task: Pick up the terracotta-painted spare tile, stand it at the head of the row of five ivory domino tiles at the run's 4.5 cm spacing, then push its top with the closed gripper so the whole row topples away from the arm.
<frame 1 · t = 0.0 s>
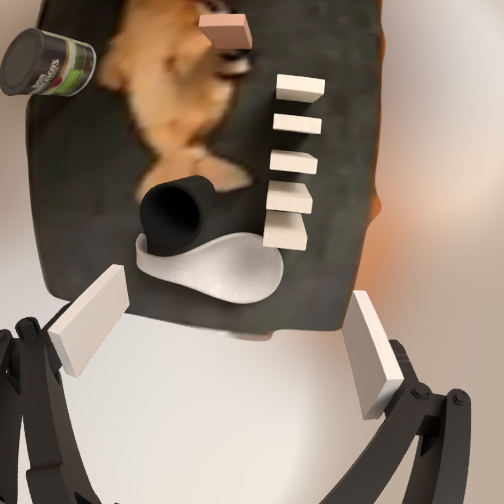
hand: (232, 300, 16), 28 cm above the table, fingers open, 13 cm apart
tile 5: (283, 217, 42), on the table
coffee can: (74, 68, 34), on the table
tile 4: (286, 187, 41), on the table
spoon rest: (209, 254, 46), on the table
cup: (197, 193, 42), on the table
tile 2: (292, 125, 37), on the table
tile 3: (289, 156, 39), on the table
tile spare: (234, 44, 33), on the table
tile 1: (294, 95, 35), on the table
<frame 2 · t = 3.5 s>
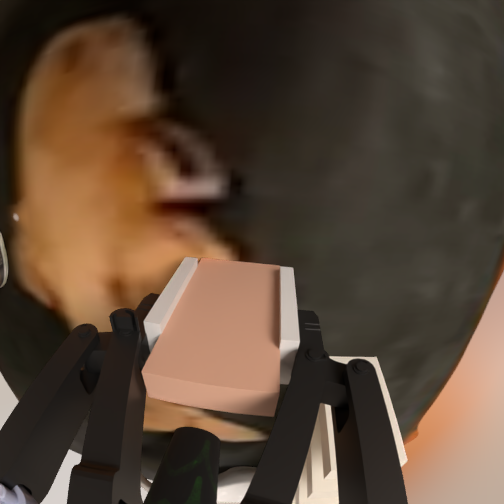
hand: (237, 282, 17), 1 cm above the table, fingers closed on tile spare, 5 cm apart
spoon rest: (211, 465, 32), on the table
cup: (197, 437, 28), on the table
tile 2: (332, 396, 23), on the table
tile 3: (320, 422, 25), on the table
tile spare: (239, 272, 19), on the table, touching gripper
tile 1: (346, 363, 21), on the table
when the fingers open (2 cm above the table, at t = 7.8 s): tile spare stays where it is, on the table.
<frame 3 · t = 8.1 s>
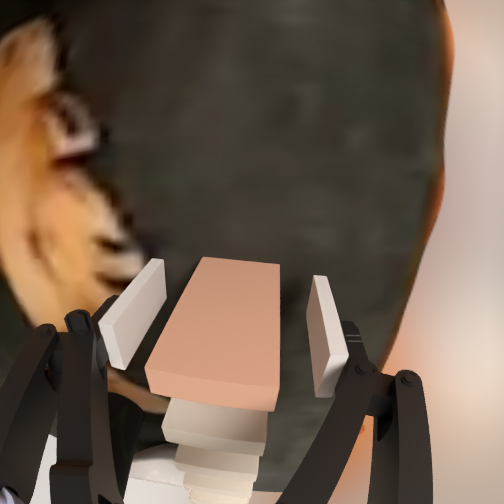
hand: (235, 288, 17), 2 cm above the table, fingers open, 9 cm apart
tile 4: (232, 421, 26), on the table
spoon rest: (143, 440, 32), on the table
cup: (123, 406, 28), on the table
tile 2: (234, 366, 23), on the table
tile 3: (233, 397, 24), on the table
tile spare: (240, 271, 19), on the table
tile 1: (237, 324, 21), on the table
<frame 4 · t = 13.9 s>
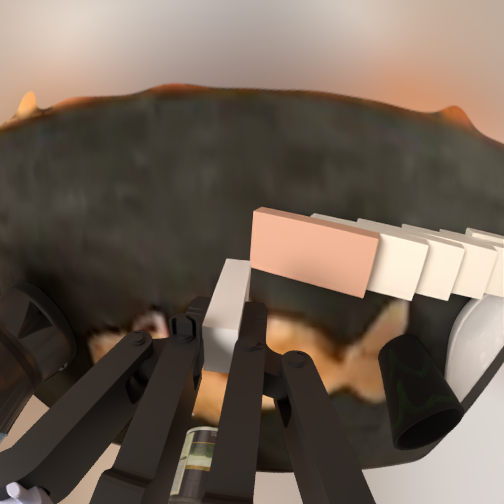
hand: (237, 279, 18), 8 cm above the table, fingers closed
tile 5: (463, 252, 24), point 1 cm above the table, tilted 81°, touching tile 4
coffee can: (215, 439, 41), on the table
tile 4: (435, 255, 24), point 1 cm above the table, tilted 68°, touching tile 5
spoon rest: (447, 350, 30), on the table
cup: (398, 351, 30), on the table
tile 2: (352, 247, 24), point 1 cm above the table, tilted 68°, touching tile 1, tile 3
tile 3: (397, 251, 24), point 1 cm above the table, tilted 68°, touching tile 2
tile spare: (255, 237, 25), point 1 cm above the table, tilted 68°, touching tile 1
tile 1: (307, 243, 25), point 1 cm above the table, tilted 68°, touching tile 2, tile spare
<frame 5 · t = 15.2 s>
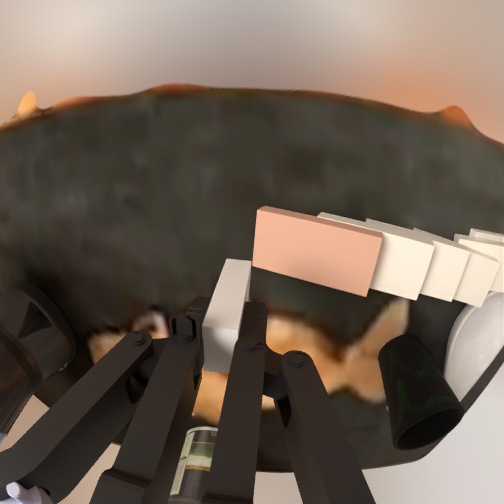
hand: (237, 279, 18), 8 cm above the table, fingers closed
tile 5: (465, 251, 24), on the table, tilted 90°, touching tile 4
coffee can: (215, 439, 41), on the table
tile 4: (451, 259, 24), point 1 cm above the table, tilted 73°, touching tile 5
spoon rest: (446, 351, 30), on the table
cup: (398, 351, 30), on the table
tile 2: (360, 247, 24), point 1 cm above the table, tilted 70°, touching tile 1, tile 3
tile 3: (406, 254, 24), point 1 cm above the table, tilted 71°, touching tile 2
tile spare: (258, 236, 25), point 1 cm above the table, tilted 70°, touching tile 1
tile 1: (314, 241, 24), point 1 cm above the table, tilted 69°, touching tile 2, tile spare
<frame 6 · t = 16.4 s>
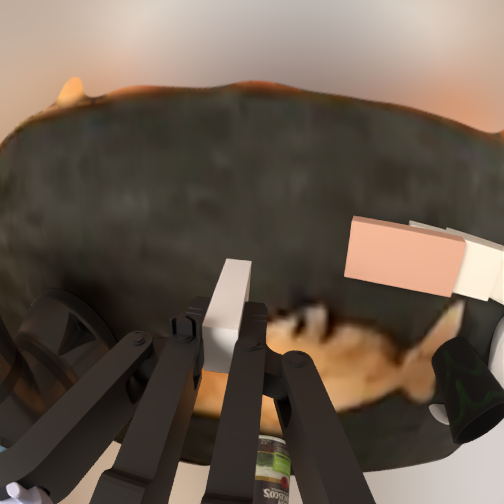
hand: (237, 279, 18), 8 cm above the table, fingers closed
coffee can: (261, 446, 40), on the table
spoon rest: (485, 353, 29), on the table
cup: (449, 352, 29), on the table
tile 2: (441, 254, 23), point 1 cm above the table, tilted 70°, touching tile 1, tile 3
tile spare: (349, 246, 24), point 1 cm above the table, tilted 71°, touching tile 1
tile 1: (404, 249, 23), point 1 cm above the table, tilted 70°, touching tile 2, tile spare
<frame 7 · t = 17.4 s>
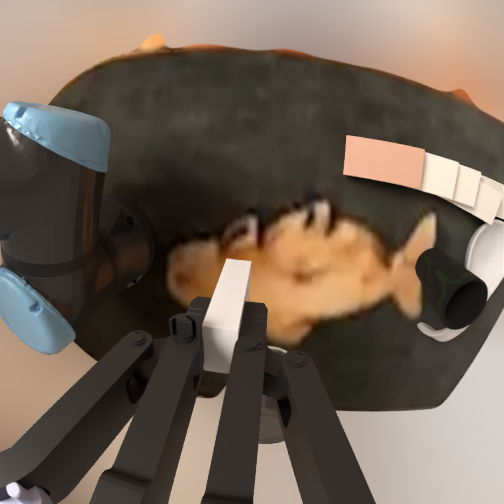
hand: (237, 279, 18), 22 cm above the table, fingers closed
coffee can: (268, 364, 50), on the table
tile 4: (479, 193, 32), point 2 cm above the table, tilted 90°, touching tile 3, tile 5
spoon rest: (462, 275, 39), on the table
cup: (429, 264, 39), on the table
tile 2: (413, 168, 33), point 1 cm above the table, tilted 71°, touching tile 1, tile 3
tile 3: (443, 179, 33), point 1 cm above the table, tilted 72°, touching tile 2, tile 4
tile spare: (345, 154, 34), point 1 cm above the table, tilted 71°, touching tile 1
tile 1: (385, 161, 33), point 1 cm above the table, tilted 71°, touching tile 2, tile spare
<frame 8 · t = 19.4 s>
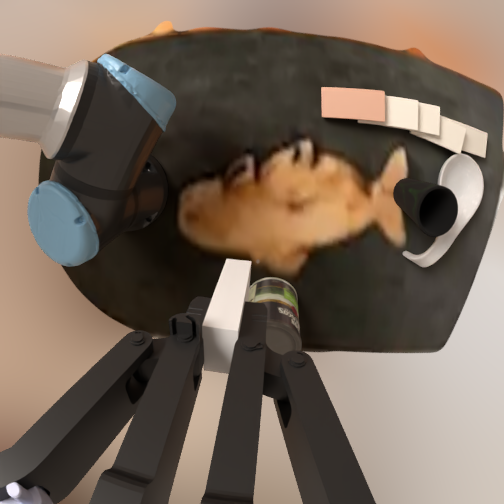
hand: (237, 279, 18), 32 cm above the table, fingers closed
coffee can: (271, 299, 56), on the table
tile 4: (446, 132, 39), point 1 cm above the table, tilted 90°, touching tile 3, tile 5
spoon rest: (439, 207, 46), on the table
cup: (406, 193, 46), on the table
tile 2: (382, 111, 40), point 1 cm above the table, tilted 72°, touching tile 1, tile 3
tile 3: (412, 120, 39), point 1 cm above the table, tilted 74°, touching tile 2, tile 4
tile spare: (322, 102, 40), point 1 cm above the table, tilted 72°, touching tile 1
tile 1: (358, 108, 40), point 1 cm above the table, tilted 72°, touching tile 2, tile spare
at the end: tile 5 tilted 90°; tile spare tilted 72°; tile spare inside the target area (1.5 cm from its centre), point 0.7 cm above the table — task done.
